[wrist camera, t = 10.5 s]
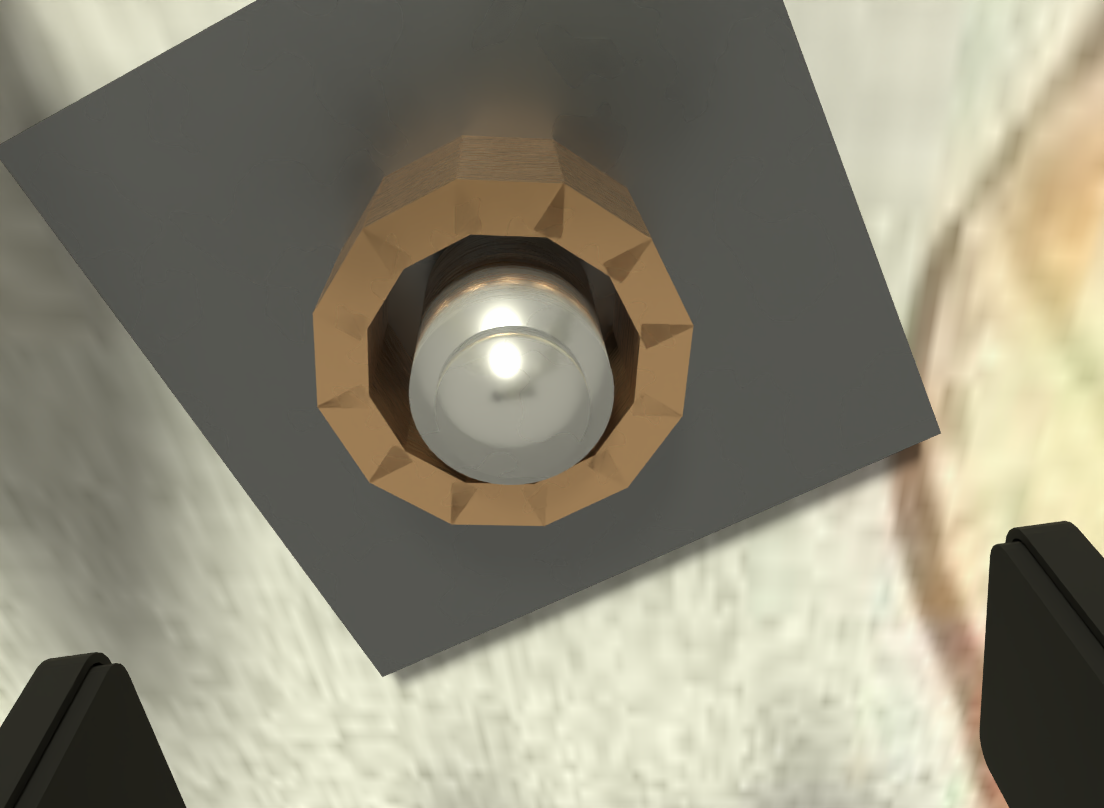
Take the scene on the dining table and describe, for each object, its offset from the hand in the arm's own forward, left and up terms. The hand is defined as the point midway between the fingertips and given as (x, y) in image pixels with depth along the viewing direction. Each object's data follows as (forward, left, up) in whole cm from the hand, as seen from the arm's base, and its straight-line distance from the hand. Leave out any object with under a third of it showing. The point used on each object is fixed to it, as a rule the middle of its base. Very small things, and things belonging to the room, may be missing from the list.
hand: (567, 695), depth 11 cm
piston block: (+1, 0, -15) cm, 15 cm away
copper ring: (+1, 0, -14) cm, 14 cm away
